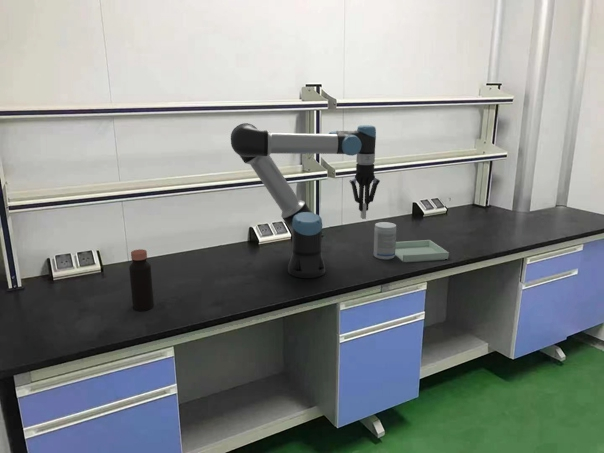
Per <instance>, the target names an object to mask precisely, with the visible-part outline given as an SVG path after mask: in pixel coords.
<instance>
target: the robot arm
mask: <svg viewBox="0 0 604 453" xmlns="http://www.w3.org/2000/svg"><path fill="white" fill-rule="evenodd" d="M376 139H377V128H376V126H373V125H369V124H368V125H367V124H366V125H365V124H364V125H358V126H357V129H356V130H333V131H332V130H331V131H329V133H287V132H284V133H283V132H277V133H276V132H270V131H269V130H267V129H266V130H264V129H258V127H256V126H255V125H253V124H251V123H246V122H244V123H240V124H238V125H236V127H233V130H232V132H231V133H230V144H231V148H232V149H233V151H234V153H236V154H237V155H238V156H239V157H240V158H241V159H242V161H243V163H244V164H246V165H250V166H251V168H252V169H253V171H254V172H255V174H256V176H257V177H258V178H259V180H260V181H261V183H262V184H263V186H264V187H265V189H266V190H267V192H269V194H270V195H271V197H272V199H273V200H274V201H275V204H277V206H278V208H279V209H280V210H281V216H280V217H281V218H282V219H283V221H284V222H285V224H286V225H287V227H288V229H289V230H290V233H291V236H292V237H291V238H292V244H291V245H292V254H291V257H290V259H289V262H288V265H287V272H288V274H289V275H291V276H292V277H296V278H298V279H299V278H301V279H314V278H319V277H321V276H323V275H325V272H326V266H325V262H324V258H323V256H322V238H323V237H322V235H323V221H322V217H321V216H320V215H319V214H317V213H314V212H313V211H312V210H311V209H310V208H309V206H308V205H307V203H306V202H305V201H304V200H301V199H299V197H297V194H296V192H294V190H293V188H292V187H291V185H290V184H289V182H288V181H287V180H286V178H285V176H284V175H283V174H282V171H281V170H280V169H279V167H278V166H277V165H276V163H275V161H274V160H273V158H272V157H271V154H295V155H296V154H297V155H298V154H302V155H303V154H307V155H311V154H314V155H319V154H320V155H324V154H325V155H327V154H328V155H329V154H330V155H333V154H334V155H347V156H355V155H356V164H355V165H356V166H355V175H354V178H353V179H349V183H350V185H351V188H352V193H353V199H354V202H356V203H358V210H359V212H360V218H361V219H362V220H366V219H367V212H368V211H369V205H370V203H373V202H374V198H375V195H376V192H377V188H378V185H379V184H380V182H381V180H380V179H378V178H376V176H375V164H374V163H375V160H376V159H375V158H376V141H377V140H376ZM357 184H358V188H357ZM371 184H372V185H371Z"/></svg>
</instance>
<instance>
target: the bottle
mask: <svg viewBox="0 0 604 453" xmlns="http://www.w3.org/2000/svg"><path fill="white" fill-rule="evenodd" d="M147 254H148V253H147V250H145V249H140V248H139V249H135V250H132V251H131V252H130V258H131V262H132V263H131V264H130V265H129V268H128V269H129V279H130V288H131V289H130V290H131V301H132V309H133V310H135V311H136V312H145V311H146V312H147V311H149V310H151V309H152V308H154V305H155V304H154V303H155V302H154V292H153V277H152V268H151V267H152V266H151V264H150V263H149V262H148V261H147V260H148V255H147Z"/></svg>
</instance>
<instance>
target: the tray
mask: <svg viewBox="0 0 604 453" xmlns="http://www.w3.org/2000/svg"><path fill="white" fill-rule="evenodd" d="M449 256H450V252H449V251H447V250H446V249H444V248H443V247H442V246H440V245H438V244H437V243H436V242H434V241H432V240H431V239H424V240H423V239H422V240H408V241H406V240H405V241H396V248H395V257H396V258H398V259H399V260H400V261H402V262H403V263H404V264H405V263H415V262H430V261H431V262H432V261H444V260H445V259H447V260H449Z"/></svg>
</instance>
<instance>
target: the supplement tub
mask: <svg viewBox="0 0 604 453" xmlns="http://www.w3.org/2000/svg"><path fill="white" fill-rule="evenodd" d="M373 230H374V233H373V256H374V257H375V258H376V259H380V260H392V259H393V258H395V257H396V256H395V248H396V242H397V224H395V223H392V222H387V221H381V222H376V223H374V229H373Z"/></svg>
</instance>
